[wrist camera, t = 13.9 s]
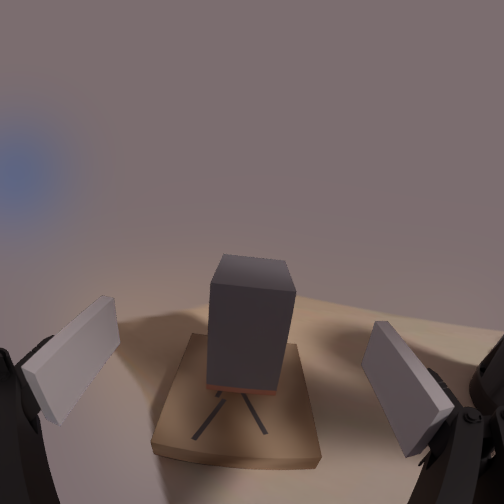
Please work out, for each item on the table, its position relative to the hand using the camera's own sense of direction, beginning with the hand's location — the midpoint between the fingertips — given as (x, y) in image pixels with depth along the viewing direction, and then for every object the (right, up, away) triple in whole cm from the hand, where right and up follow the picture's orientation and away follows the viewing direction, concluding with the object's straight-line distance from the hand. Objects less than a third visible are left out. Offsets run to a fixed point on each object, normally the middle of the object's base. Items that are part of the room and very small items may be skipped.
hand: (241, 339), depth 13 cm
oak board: (-1, -10, +10) cm, 14 cm away
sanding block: (0, -7, +13) cm, 15 cm away
